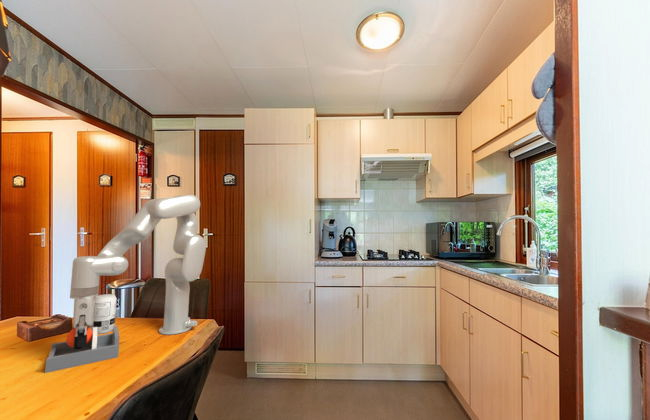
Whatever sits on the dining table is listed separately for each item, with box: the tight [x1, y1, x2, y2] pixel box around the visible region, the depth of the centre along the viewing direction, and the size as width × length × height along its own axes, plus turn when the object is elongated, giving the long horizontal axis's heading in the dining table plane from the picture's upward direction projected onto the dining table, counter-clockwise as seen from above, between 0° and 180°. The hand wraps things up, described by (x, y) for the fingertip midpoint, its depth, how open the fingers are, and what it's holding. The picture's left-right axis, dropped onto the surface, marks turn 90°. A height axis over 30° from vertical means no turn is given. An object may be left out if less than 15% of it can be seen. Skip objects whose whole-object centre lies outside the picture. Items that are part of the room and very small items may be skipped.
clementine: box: [65, 325, 93, 348], centre depth 96 cm, size 8×7×7 cm
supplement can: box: [89, 293, 118, 335], centre depth 121 cm, size 8×8×15 cm
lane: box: [44, 325, 120, 374], centre depth 97 cm, size 18×15×7 cm
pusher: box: [91, 327, 98, 349], centre depth 98 cm, size 1×12×7 cm, turn 40°
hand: (80, 344), depth 96 cm, fingers closed on clementine, 7 cm apart
